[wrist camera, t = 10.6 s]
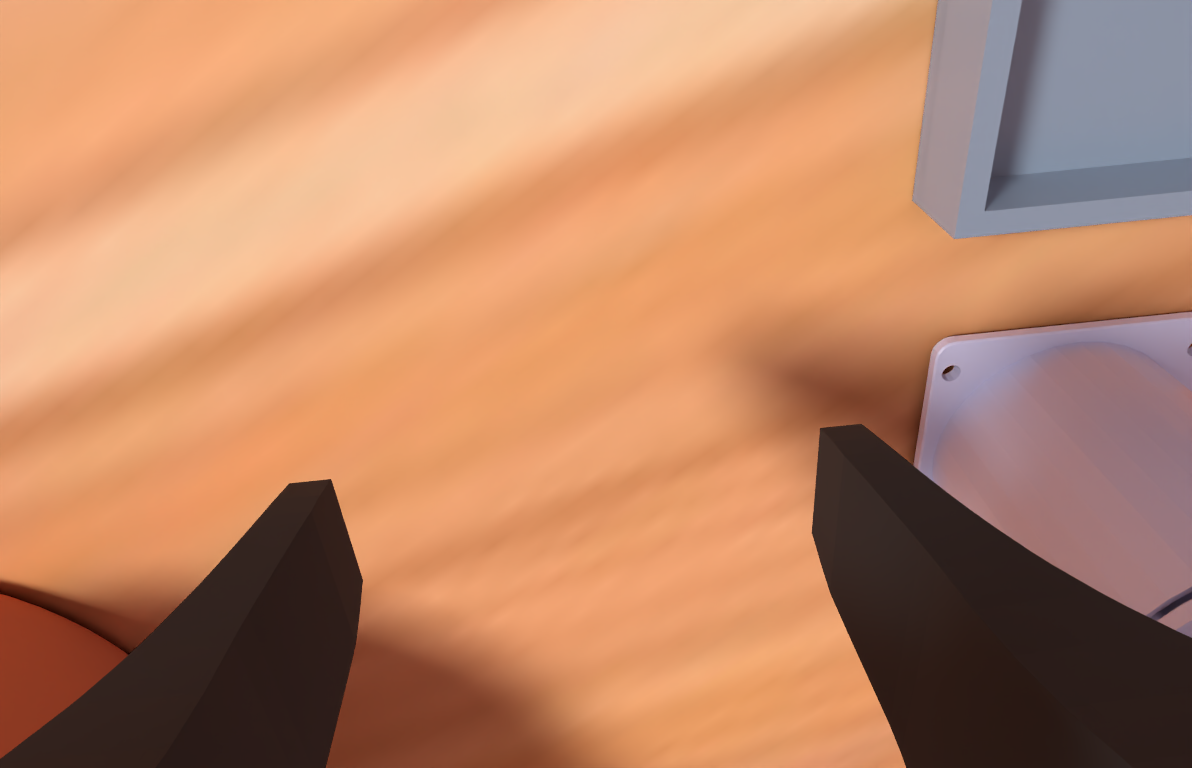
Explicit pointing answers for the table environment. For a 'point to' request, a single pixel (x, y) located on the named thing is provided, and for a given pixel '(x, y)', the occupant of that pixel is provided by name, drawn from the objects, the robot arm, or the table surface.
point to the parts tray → (1056, 115)
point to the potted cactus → (44, 667)
